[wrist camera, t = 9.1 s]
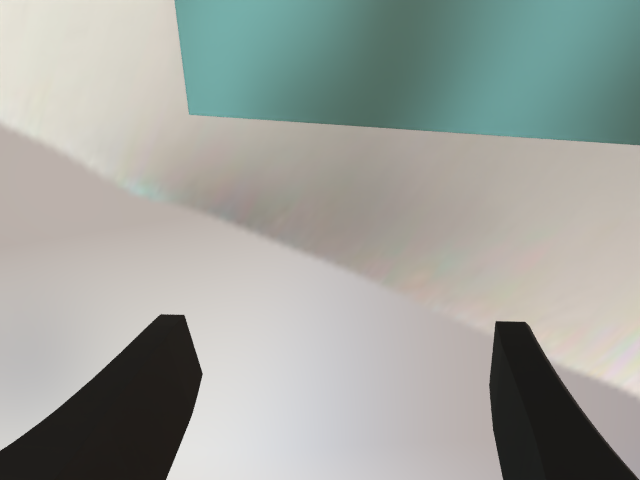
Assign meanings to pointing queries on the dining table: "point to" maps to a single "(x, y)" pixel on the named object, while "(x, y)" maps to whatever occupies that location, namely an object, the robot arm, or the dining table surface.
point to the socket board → (420, 64)
